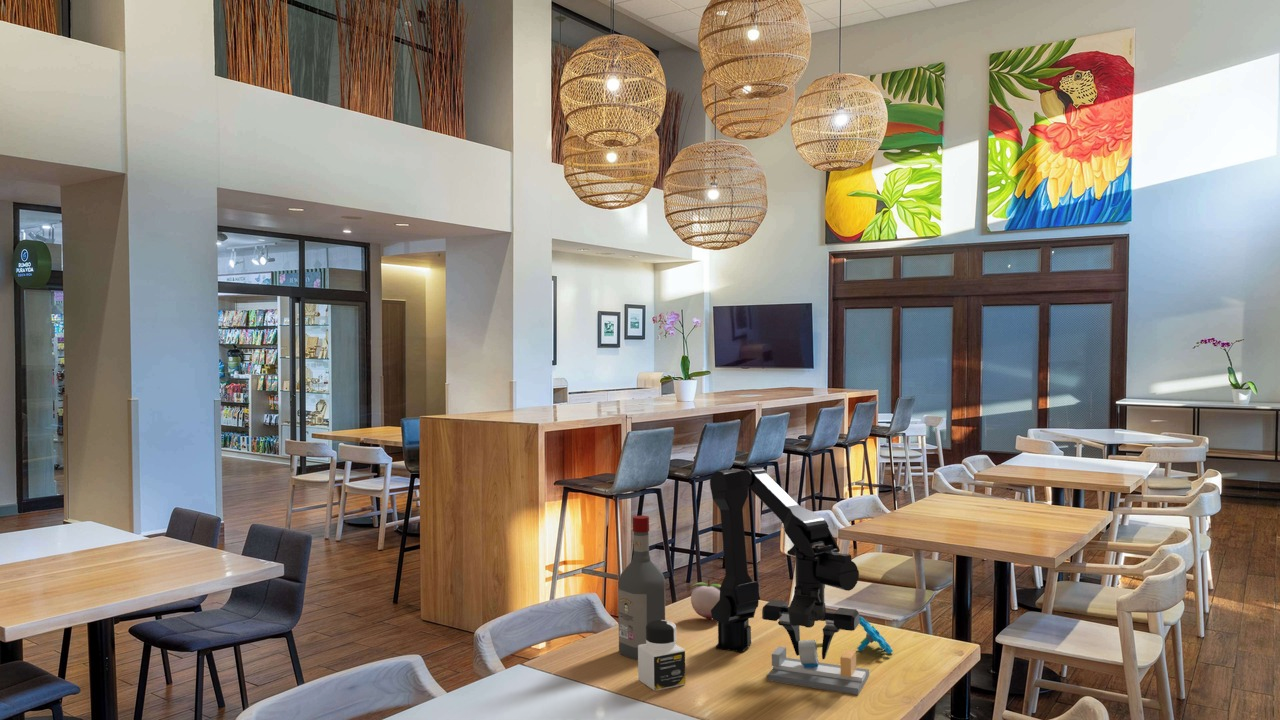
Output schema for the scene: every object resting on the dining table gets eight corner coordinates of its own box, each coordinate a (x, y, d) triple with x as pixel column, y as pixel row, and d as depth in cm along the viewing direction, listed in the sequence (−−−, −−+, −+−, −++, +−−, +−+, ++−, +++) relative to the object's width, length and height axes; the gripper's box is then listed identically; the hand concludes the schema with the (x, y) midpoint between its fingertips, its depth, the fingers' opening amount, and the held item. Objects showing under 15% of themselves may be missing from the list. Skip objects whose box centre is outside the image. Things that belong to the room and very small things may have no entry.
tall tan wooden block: (840, 675, 165) (840, 657, 165) (846, 667, 169) (845, 649, 169) (850, 677, 164) (850, 658, 164) (856, 668, 168) (855, 650, 169)
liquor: (640, 663, 179) (638, 522, 179) (613, 652, 186) (611, 517, 186) (671, 653, 185) (670, 517, 185) (644, 643, 192) (642, 511, 192)
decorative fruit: (688, 624, 205) (688, 583, 205) (692, 614, 213) (691, 575, 213) (727, 626, 204) (726, 584, 204) (729, 616, 212) (728, 576, 212)
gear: (895, 653, 178) (860, 617, 181) (875, 672, 179) (841, 635, 182) (894, 644, 189) (861, 609, 192) (875, 662, 189) (843, 627, 192)
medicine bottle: (654, 692, 163) (653, 630, 163) (637, 679, 169) (636, 620, 170) (686, 685, 166) (685, 624, 167) (668, 673, 173) (667, 615, 173)
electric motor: (825, 670, 166) (821, 645, 166) (801, 672, 167) (797, 647, 167) (826, 657, 173) (822, 633, 173) (803, 659, 174) (799, 635, 174)
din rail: (767, 680, 168) (767, 658, 168) (782, 662, 178) (782, 642, 178) (858, 694, 160) (858, 671, 160) (869, 675, 170) (868, 653, 170)
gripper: (753, 584, 167) (754, 663, 167) (847, 595, 159) (848, 677, 159) (769, 571, 177) (770, 645, 177) (859, 581, 169) (860, 658, 169)
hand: (810, 656), depth 170 cm, fingers closed on electric motor, 5 cm apart
